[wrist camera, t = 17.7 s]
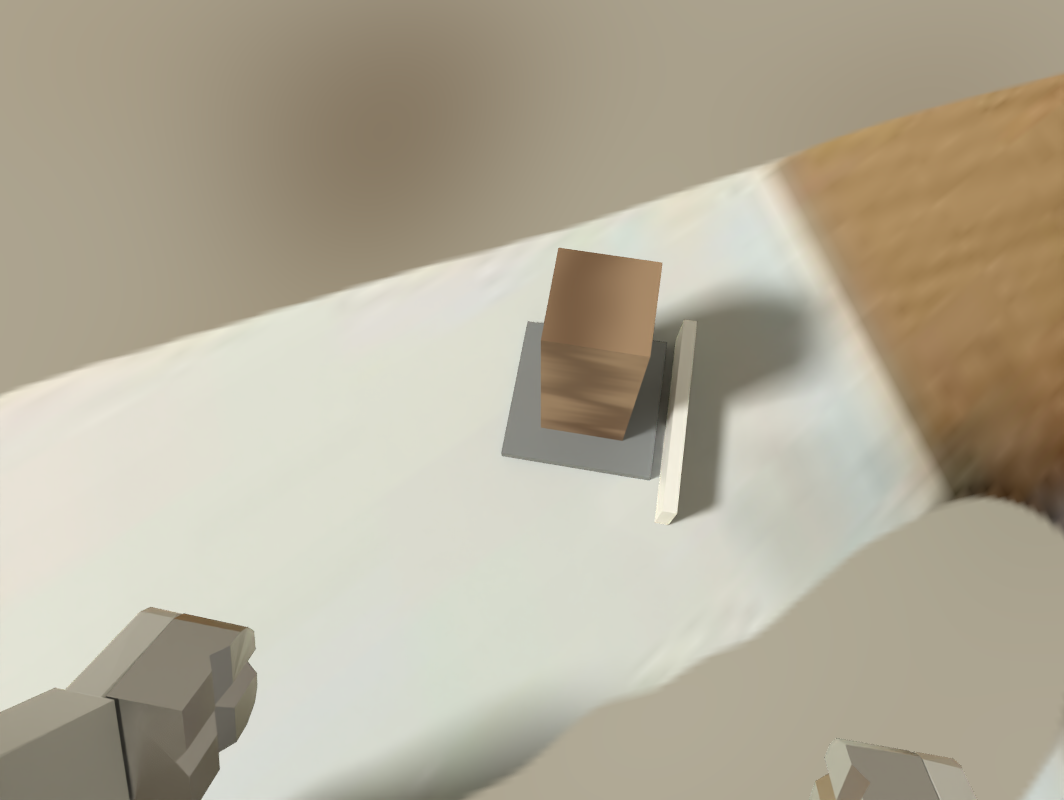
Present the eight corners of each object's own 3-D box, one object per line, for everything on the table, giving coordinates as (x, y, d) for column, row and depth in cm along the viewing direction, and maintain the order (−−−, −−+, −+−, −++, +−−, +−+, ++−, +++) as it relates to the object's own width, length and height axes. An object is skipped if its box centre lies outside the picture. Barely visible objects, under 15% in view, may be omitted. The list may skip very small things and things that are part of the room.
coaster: (665, 346, 47) (667, 342, 46) (649, 480, 44) (650, 477, 43) (527, 325, 48) (527, 321, 47) (501, 455, 44) (501, 452, 44)
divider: (687, 343, 47) (697, 321, 44) (668, 525, 43) (677, 513, 40) (675, 341, 47) (683, 319, 44) (654, 522, 43) (662, 511, 40)
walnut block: (632, 366, 46) (662, 262, 35) (622, 441, 44) (650, 356, 33) (554, 354, 46) (558, 247, 35) (540, 427, 44) (540, 340, 33)
